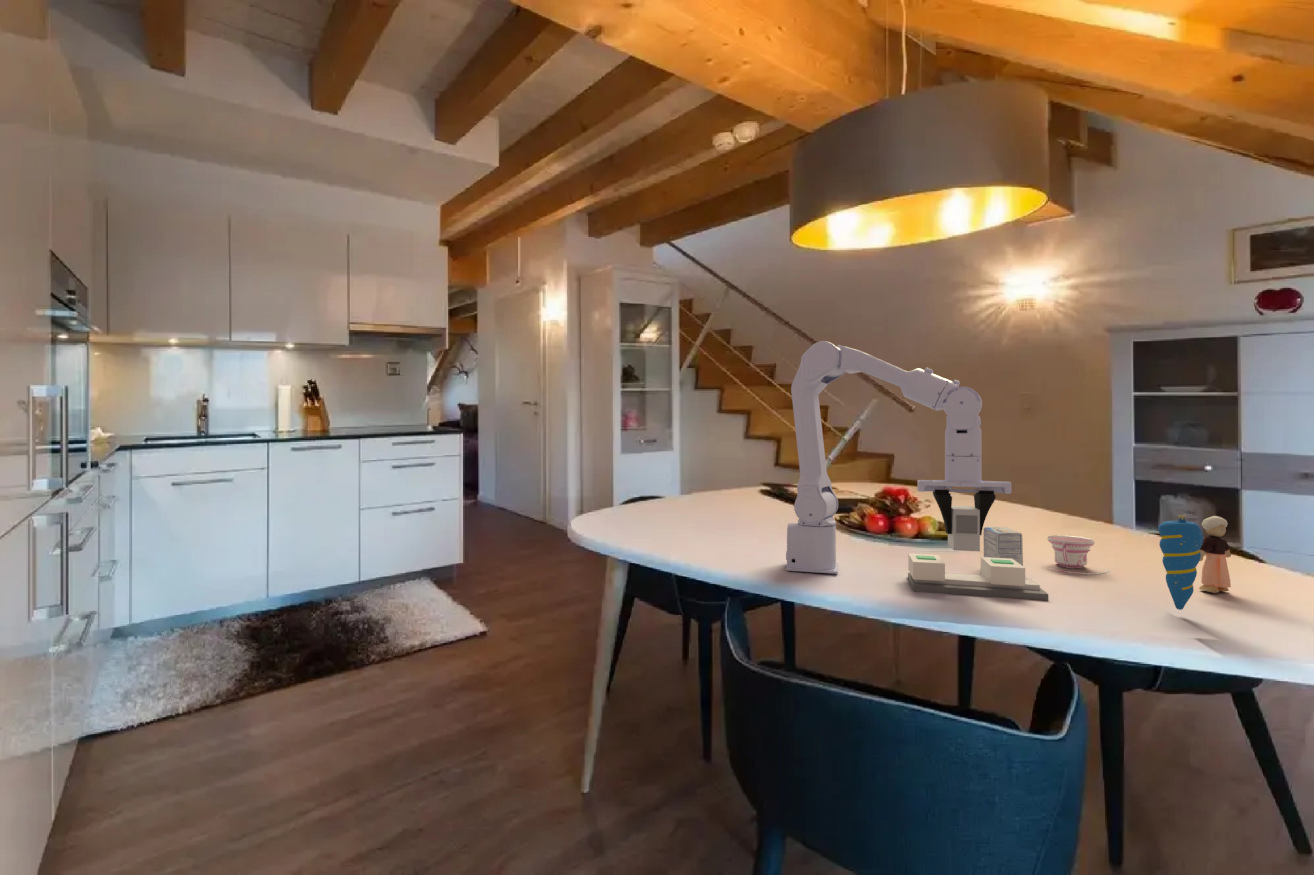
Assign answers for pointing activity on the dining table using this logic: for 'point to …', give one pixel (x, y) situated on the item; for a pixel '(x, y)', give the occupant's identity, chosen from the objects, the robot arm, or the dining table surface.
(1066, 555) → the teacup
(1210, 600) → the dining table surface
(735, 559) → the dining table surface
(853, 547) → the dining table surface
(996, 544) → the medicine box
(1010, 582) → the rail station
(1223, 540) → the grandmother figurine
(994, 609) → the dining table surface
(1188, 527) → the ornament
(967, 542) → the loose module
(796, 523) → the robot arm
